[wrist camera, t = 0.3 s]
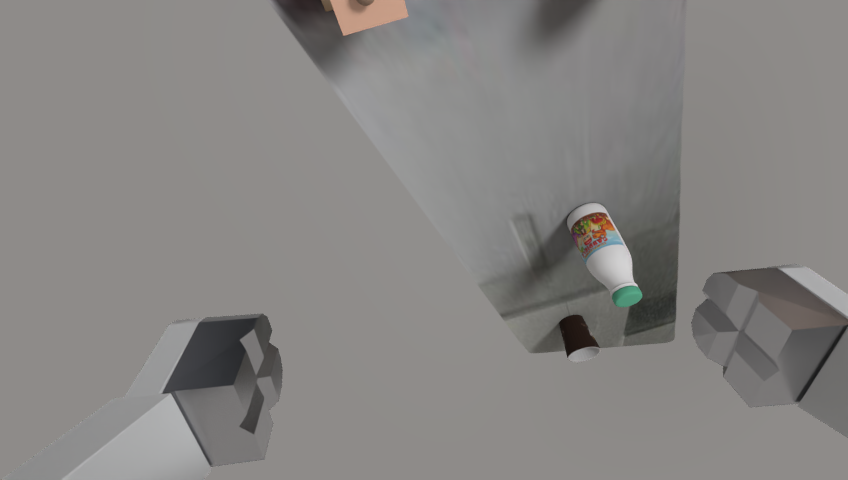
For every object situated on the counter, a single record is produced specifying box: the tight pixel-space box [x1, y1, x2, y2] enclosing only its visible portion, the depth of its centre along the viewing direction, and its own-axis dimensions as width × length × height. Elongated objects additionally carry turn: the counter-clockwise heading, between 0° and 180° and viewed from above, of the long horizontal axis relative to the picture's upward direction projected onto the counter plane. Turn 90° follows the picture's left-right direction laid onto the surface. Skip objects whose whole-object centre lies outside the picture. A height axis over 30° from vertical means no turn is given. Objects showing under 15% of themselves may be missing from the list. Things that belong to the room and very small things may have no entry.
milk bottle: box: [567, 203, 642, 307], centre depth 79 cm, size 8×8×20 cm
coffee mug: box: [559, 315, 601, 362], centre depth 116 cm, size 12×9×10 cm
